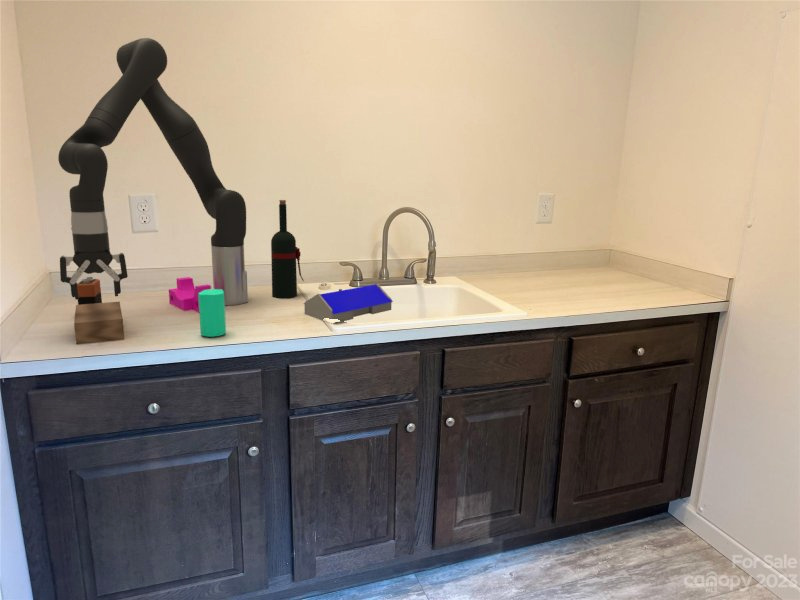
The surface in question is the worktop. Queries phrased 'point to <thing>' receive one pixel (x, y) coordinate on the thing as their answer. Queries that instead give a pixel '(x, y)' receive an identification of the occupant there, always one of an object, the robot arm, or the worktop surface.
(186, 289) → the magenta bracket
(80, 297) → the battery
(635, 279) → the worktop surface
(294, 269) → the wine bottle
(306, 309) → the roof
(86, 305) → the walnut plinth
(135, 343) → the worktop surface
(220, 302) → the candle
